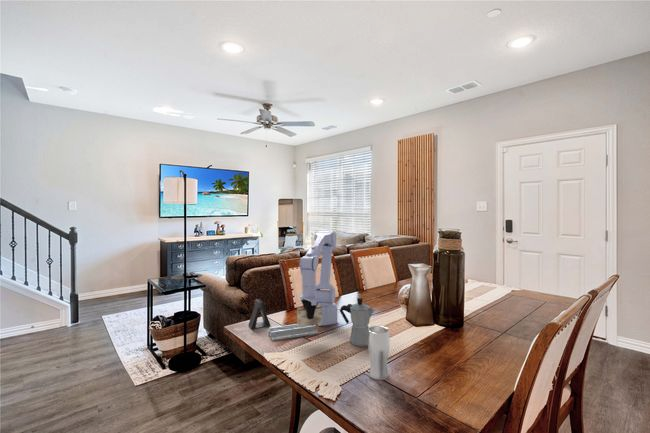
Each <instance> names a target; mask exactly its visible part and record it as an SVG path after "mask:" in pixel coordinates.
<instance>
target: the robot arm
mask: <svg viewBox="0 0 650 433" xmlns="http://www.w3.org/2000/svg"><path fill="white" fill-rule="evenodd" d="M313 236H314V237H313V238H314V243H313V245H311V246H309V248H308V250H307V252H306V253H305V255H304V256H302V257H300V259H299V264H298V265H299V266H298V267H299V270H300V274H301V290H302V292H301V295H299V299H300V302H301V303H302V307H306V311H307V317H308V319H313V317H314V312H315V309H316V306H317V305H320V306H321V307H322V323H321V324H317V325H318V326H319V327H321V326H323V327H324V326H329V325H330V326H331V325H337V324H338V323H339V321H338V306H337V304H336V303H335V301H336V289H335V287H334V286H333V285H332V284H331V271H332V270H331V268H332V254H333V250H334V249H336V246H337V233H336V231H335V230H316V231H315V232H314V234H313ZM320 257H321V263H320V276H319V277H320V278H319V279H320V280H319V283H318V284H317V282H316V281H317V277H316V276H317V272H316V271H317V270H318V266H319V259H320Z"/></svg>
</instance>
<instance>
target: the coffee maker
mask: <svg viewBox="0 0 650 433" xmlns="http://www.w3.org/2000/svg"><path fill="white" fill-rule="evenodd" d="M356 299H357V300H356V301H357V303H355V304H351V303H348V304H347V305H346V304H345V305H342V306H341V307H340V309H339V313H340V315H341V316H342V317H343V319H344V321H345V323H346V325H348V324H349V323H350V320H349V318H348V317H347V315H346V313H345V312H347V313H349V314H350V319H351V322H352V323H351V324H352V326H351V330H350V338H349V344H351V345H352V346H354V347H359V348H365V347H368V328H369V327H370V326H369V324H370V319H371V318H372V315H373V313H374V312H375V311H376V309H375V308H372V307H370V305H368V304H364V303H363V298H362V297H358V298H356ZM344 311H345V312H344Z"/></svg>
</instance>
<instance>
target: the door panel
mask: <svg viewBox="0 0 650 433" xmlns="http://www.w3.org/2000/svg"><path fill="white" fill-rule="evenodd" d="M296 322H297V323H296V324H297V325H298V326H299V327H301V326H307V325H318V324H321V323H322V307H321V306H320V305H317V306H316V309H315V312H314V317H313V319H308V317H307V311H306V307H304V306H302V307H301V306H300V307H297V308H296Z"/></svg>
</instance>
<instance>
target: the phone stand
mask: <svg viewBox="0 0 650 433" xmlns="http://www.w3.org/2000/svg"><path fill="white" fill-rule="evenodd" d="M259 314H261V319H262V321H261V322H258V318H259ZM248 326H249V327H250V329H251V330H257V329H263V328H269V327H272V326H271V323H270V320H269V318H268V315H267V313H266V311H265V303H264V302H263V301H262V300H261V299H260V298H258V299H257V298H256V299H255V300H254V306H253V310H252V312H251V315H250V318H249V322H248Z"/></svg>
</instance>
